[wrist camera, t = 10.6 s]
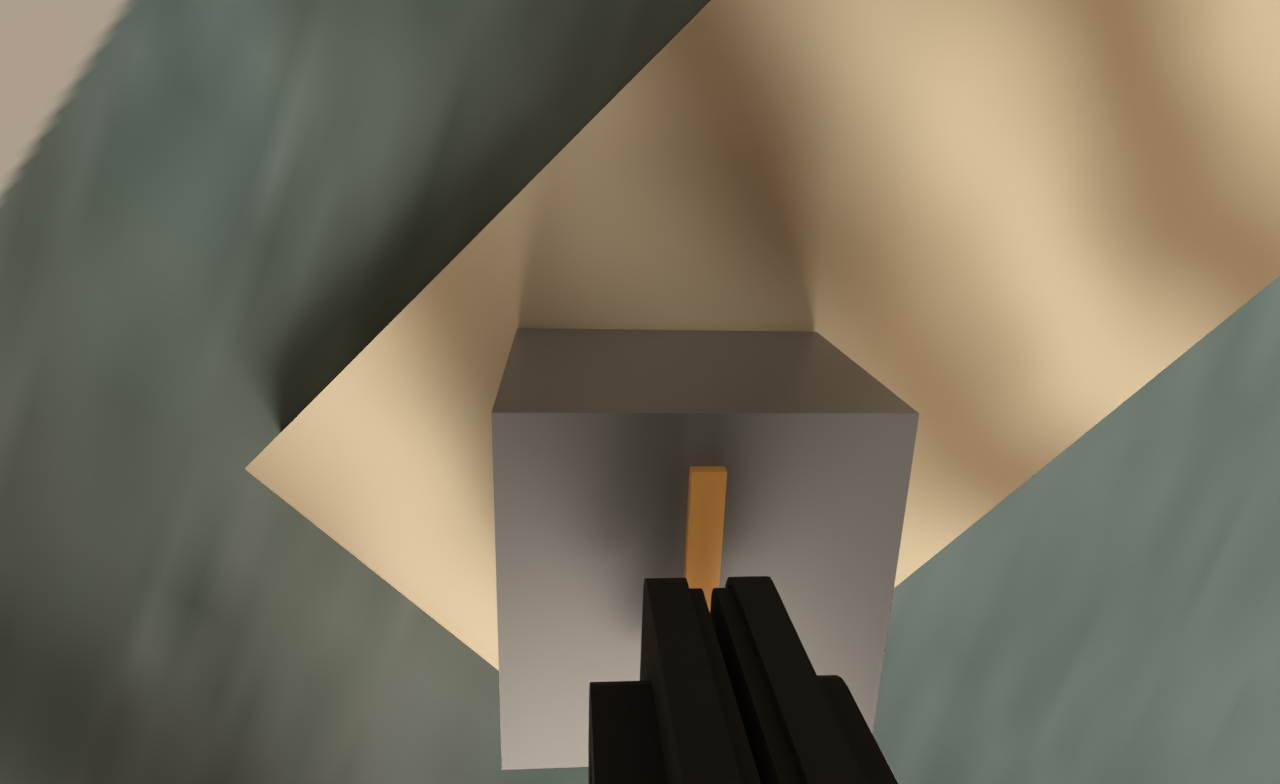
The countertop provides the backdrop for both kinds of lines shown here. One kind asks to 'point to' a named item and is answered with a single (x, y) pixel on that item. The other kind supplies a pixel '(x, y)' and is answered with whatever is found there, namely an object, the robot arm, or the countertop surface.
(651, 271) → the light wood flat block
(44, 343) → the countertop surface
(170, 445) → the countertop surface
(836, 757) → the robot arm
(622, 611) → the grey and orange block
